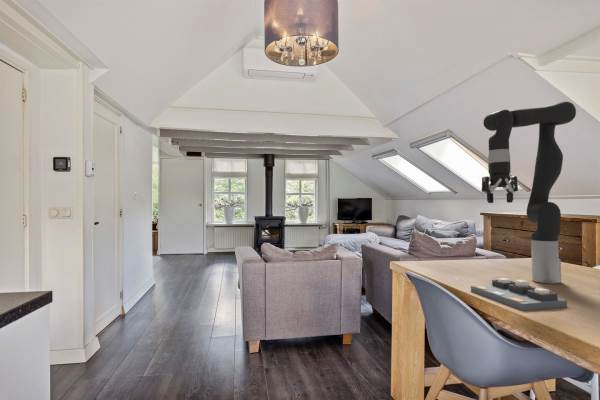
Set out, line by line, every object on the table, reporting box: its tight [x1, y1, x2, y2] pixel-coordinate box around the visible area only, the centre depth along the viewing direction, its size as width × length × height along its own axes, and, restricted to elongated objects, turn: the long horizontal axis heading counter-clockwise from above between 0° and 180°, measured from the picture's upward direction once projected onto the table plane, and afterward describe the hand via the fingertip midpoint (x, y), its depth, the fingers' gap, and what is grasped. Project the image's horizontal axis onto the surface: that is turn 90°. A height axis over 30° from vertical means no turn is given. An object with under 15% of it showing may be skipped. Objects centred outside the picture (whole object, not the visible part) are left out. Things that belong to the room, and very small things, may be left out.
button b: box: [514, 279, 530, 288], centre depth 119 cm, size 4×4×2 cm
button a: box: [497, 277, 512, 283], centre depth 127 cm, size 4×4×2 cm
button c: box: [535, 287, 551, 294], centre depth 111 cm, size 4×4×2 cm
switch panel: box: [470, 279, 568, 311], centre depth 118 cm, size 16×24×4 cm, turn 10°
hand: (500, 202), depth 135 cm, fingers open, 8 cm apart
